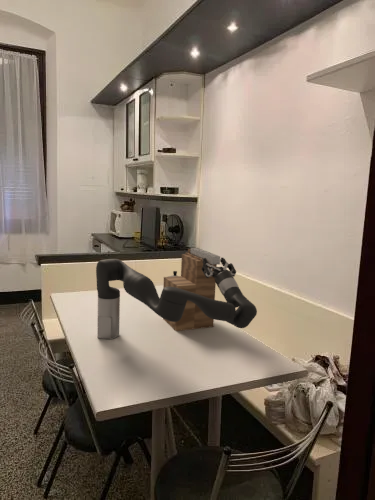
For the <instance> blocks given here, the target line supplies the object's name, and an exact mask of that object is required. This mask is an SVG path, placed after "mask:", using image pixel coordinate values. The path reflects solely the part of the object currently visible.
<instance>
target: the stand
mask: <svg viewBox="0 0 375 500" xmlns="http://www.w3.org/2000/svg"><path fill="white" fill-rule="evenodd" d="M190 250H191V248H188V249H187V251H186V252H185V253H181V265H180V266H181V267H180V275H177V276H173V275H172V276H173V277H168V276H163V288H164V287H176V288H180V289H183V290H186V291H189V292H192V293H195V294H198V295H201V296H204V297H207V298H210V299H213V300H216V286H217V284H216V282H215V279H214V277H212V276H209V278H206V276H205V275H204V273H203V271H202V270H201V269H202V266H203V259H201V258H199V257H196V256H194V255H192V254H190ZM208 264H210V263H208ZM210 265H212V264H210ZM217 265H218V264H216V265H213V266H215V267H218V266H217ZM208 268H209V269H210V267H208ZM213 270H214V269H213V268H212V271H213ZM163 288H162V289H163ZM162 320H163V321H165V323H167V324H168V326H170V327H171V328H172V329H173V330H174V331H175V332H179V331H181V332H182V331H187V330H188V331H189V330H197V329H198V330H199V329H207V328H213V327H214V322H215V319H211V318H209V317H208V316H206V315H205V314H204V313H203V312H202V310H201V309H200V308H199V307H198V306H197V305H196V304H194V303H193V302H191V301H187V303H186V306H185V309H184V312H183V315H182V318H181V319H180V320H179V321H177V322H171V321H168V320H165V319H164V318H163V319H162Z"/></svg>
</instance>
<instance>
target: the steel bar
mask: <svg viewBox="0 0 375 500" xmlns="http://www.w3.org/2000/svg"><path fill="white" fill-rule="evenodd" d="M190 249H191V250H190V254H192V255H194V256H196V257H199V258H201V259H204V258H206V259H207V261H208V263H210V264H212V265H216V264H217V265H220V264H221V262H220V260H221V256H220V255H218V254H215V253H212V252H209V251H207V250H204V249H202V248H199V247H190Z"/></svg>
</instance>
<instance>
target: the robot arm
mask: <svg viewBox="0 0 375 500" xmlns="http://www.w3.org/2000/svg"><path fill="white" fill-rule="evenodd" d="M97 261H98V262H96V263H97V264H96V267H95V274H96V289H97V290H96V291H97V339H104V340H112V339H116V338H117V337H119V336H120V318H121V317H120V314H121V313H120V311H121V310H120V308H121V305H120V303H121V290H120V289H118V288H117V287H113V286H110V282H113V281H121V282H122V284H123V289H124V291H125V292H126V293H127V294H128V295H130V296H131V297H132V298H134V299H136V300H138V301H139V302H141V303H143V305H146V307H148V308H149V309H151V311H152V312H153V313H155V314H156V315H157V316H159V317H160V318H164V319H165V320H168V321H171V322H177V321H179V320H180V319H181V318H182V315H183V312H184V309H185V306H186V303H187V301H191V302H193V303H194V304H196V305H197V306H198V307H199V308H200V309H201V310H202V312H203V313H204V314H205V315H206V316H208V317H209V318H211V319H214V321H215V320H216V321H223V322H226V323H229V324H231V325H232V326H234V327H235V328H238V329H245V328H247V327H248V326H249V325H250V324H251V322H252V321H253V319H255V317H256V316H257V314H258V310H257V307H256V306H255V304H254V303H252V302H251V301H250V300H249V299H248V298H247V297H246V296H245V295H244V294H243V292H242V291H241V288H240V287H239V284H238V282H237V281H236V279H235V277H236V274H237V270H236V268H235V266H234V264H233V263H228V262H227V260H226V258H224V257H220V264H221V265H222V266H217V267H215V266H213V265H210V264H208V261H207V259H206V258H204V259H203V266H202V269H201V270H202V271H203V273H204V275H205V276H206V278H209V276H212V277H214V279H215V282H216V286H217V288H218V289H219V292H220V293H221V295H222V296H223V297H224V300H225V301H222V300H216V299H215V300H213V299H210V298H207V297H204V296H201V295H198V294H195V293H192V292H189V291H186V290H183V289H180V288H176V287H164V288H162V289H161V293H160V296H159V293H158V291H157V289H156V286H155V283H154V282H153V281H152V279H150V277H148V276H147V275H145V274H142V273H140V272H138V271H136V269H134V268H131V267H130V266H129V265H127V264H126V263H125V262H124V261H122V259H119V258H108V259H101V260H97ZM208 267H210V269H209V268H208ZM212 268H213V269H214V270H213V271H212ZM227 268H228V269H227ZM236 308H237V309H236ZM164 319H163V320H164ZM165 320H164V321H165Z"/></svg>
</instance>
